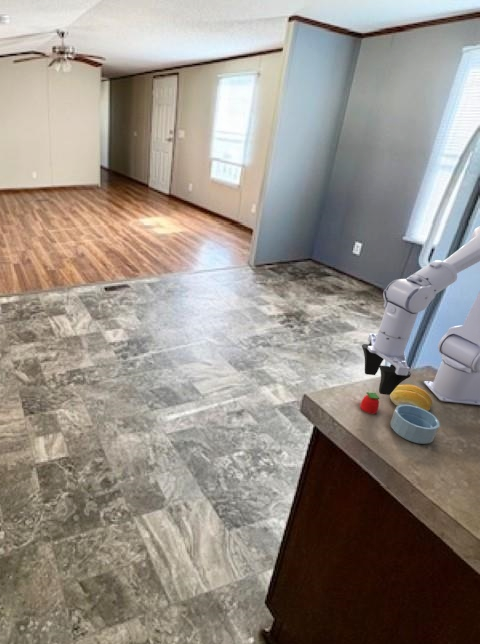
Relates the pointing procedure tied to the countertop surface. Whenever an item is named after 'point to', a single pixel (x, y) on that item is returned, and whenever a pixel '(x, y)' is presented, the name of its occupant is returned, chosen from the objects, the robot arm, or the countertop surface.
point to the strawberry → (370, 403)
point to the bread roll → (411, 396)
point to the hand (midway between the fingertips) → (376, 383)
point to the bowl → (414, 424)
